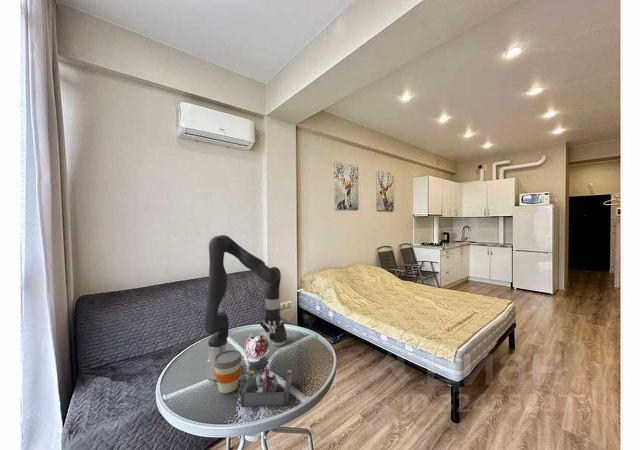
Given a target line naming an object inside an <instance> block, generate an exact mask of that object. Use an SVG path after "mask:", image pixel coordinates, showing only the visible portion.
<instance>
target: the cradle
mask: <svg viewBox="0 0 640 450" xmlns="http://www.w3.org/2000/svg"><path fill="white" fill-rule="evenodd" d="M286 373H287V374H286V375H287V376H286V380H285V386H284V388H283V389H284V390H283V391H278V392H277V391H276V392H265V393H256V392H252V388H253V386H254V374H255V370H250V371H249V373H248V374H249V375H248V377H247V380H246V382H245V384H244V387H243V389H242V391H241V393H240V408H245V407H246V408H249V407H254V408H255V407H288V402H289V396H290V391H291V386H290V385H292V370H291V369H288V370H287V371H286Z"/></svg>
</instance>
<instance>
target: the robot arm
mask: <svg viewBox="0 0 640 450" xmlns="http://www.w3.org/2000/svg"><path fill="white" fill-rule="evenodd" d="M227 253H228V254H230V255H231V256H234V257H235V258H236V259H238V261H239V262H240V263H241V265H243V266H244V267H245V268H247V269H248V270H250V271H251V272H253V273H255V274H256V275H258V277H260V278H261V280H263V281H265V282H266V283H267V286H266V288H265V302H264V318H263V320H261V321H260V324H259V325H260V326H261V327H262V329H263V330H264V331H265V332H266V333H269V340H270V341H271V340H274V339H275V337H276V332H279V330H280V329H281V328H282V326H283V325H284V326H285V320H282V317H281V300H280V287H281V278H282V277H281V276H282V275H281V273H282V272H281V270H280V269H279V267H277V266H276V267H275V266H272V267H269V266H267V264H266V263H265V261H263V260H262V259H260V258H259V257H257V256H255V255H254V254H252V253H250V252H249V251H247V250H246V249H245V248H243V247H242V246H241V245H239V244H238V243H236V241H234V240H233V239H232V238H231V237H230V236H228V235H226V234H221V235H216V236H212V238H211V239H210V240H209V243H208V256H209V257H208V258H209V267H208V286H207V301H206V310H205V316H204V323H203V324H204V330H205V332H206V333H207V334H209V335H211V336H210V337H209V339H208V342H207V343H208V359H207V362H206V367H207V369H206V370H207V371H206V372H207V380H211V381H216V376H215V367H214V358H215V356H216V355H218V354H219V353H221V352H224V351H227V350H228V339H229V329H230V327H229V321H230V320H229V317H228V314H227V313H226V312H224V311H219V306H220V305H221V303H222V302H223V299H224V297H225V295H226V292H227V290H228V275H227V272H226V268H225V265H224V264H225V263H224V261H225V254H227ZM218 311H219V312H218ZM279 322H280V325H279V327H278V328H277V329H276V326H277V325H278V323H279ZM272 331H273V332H272Z"/></svg>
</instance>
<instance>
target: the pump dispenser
mask: <svg viewBox="0 0 640 450" xmlns="http://www.w3.org/2000/svg"><path fill="white" fill-rule="evenodd" d="M279 325H280V322H279V323H278V325H277V326H276V329H277V328H278V327H279ZM272 332H273V331H272ZM287 340H288V334H287V330H286V327H285V324H284V325H283V326H282V328H281V329H280V330H279V332H276V337H275V339H274V340H271V339H270V341H271V343H272V345H273V346H275V347H281V346H284V345H286V342H287Z"/></svg>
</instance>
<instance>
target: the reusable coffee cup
mask: <svg viewBox="0 0 640 450" xmlns="http://www.w3.org/2000/svg"><path fill="white" fill-rule="evenodd" d="M241 363H242V354H241V352H240V351H239V350H236V349H229V350H228V349H227V351H224V352H221V353H219V354H218V355H216V356H215V358H214V367H215V376H216V380H215V381H216V382H217V388H218V392H220V393H222V394H228V393H232V392H234V391H236V390H237V388H238V387H239V382H240V381H239V380H240V376H241V370H242V369H241V368H242V364H241Z"/></svg>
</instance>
